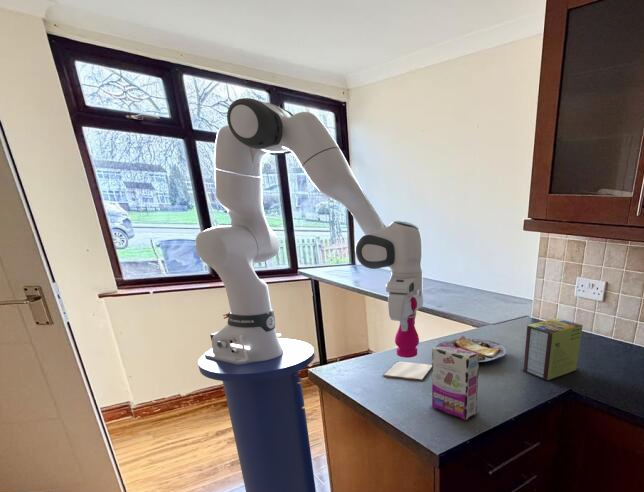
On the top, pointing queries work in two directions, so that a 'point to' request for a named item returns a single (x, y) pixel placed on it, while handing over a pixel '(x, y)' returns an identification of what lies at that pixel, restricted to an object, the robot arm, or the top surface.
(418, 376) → the coaster mat
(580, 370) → the top surface
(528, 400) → the top surface
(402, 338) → the pepper mill
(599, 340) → the top surface
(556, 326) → the protein box
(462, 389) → the candy bar box
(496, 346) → the food plate
